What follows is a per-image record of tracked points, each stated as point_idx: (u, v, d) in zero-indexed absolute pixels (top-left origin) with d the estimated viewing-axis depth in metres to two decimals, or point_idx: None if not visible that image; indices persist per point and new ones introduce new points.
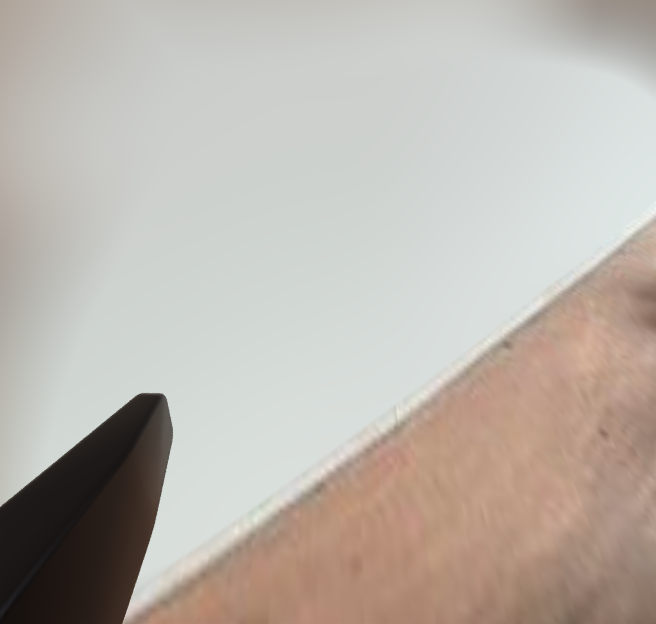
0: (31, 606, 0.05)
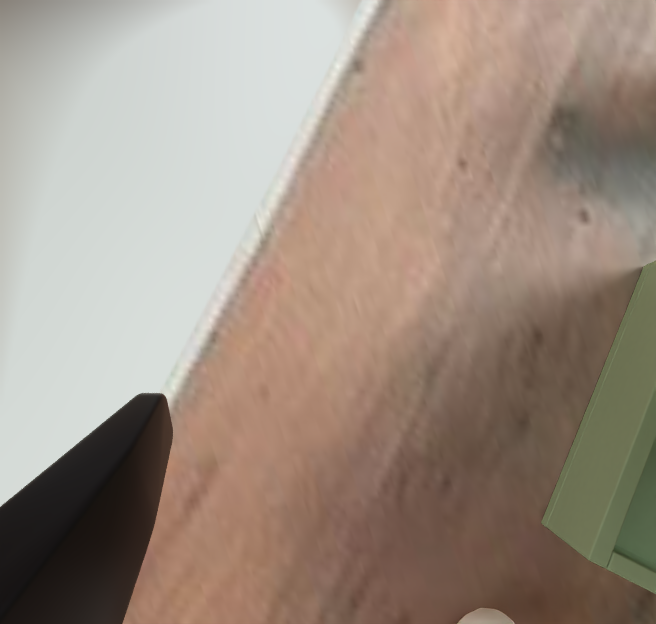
0: (31, 606, 0.05)
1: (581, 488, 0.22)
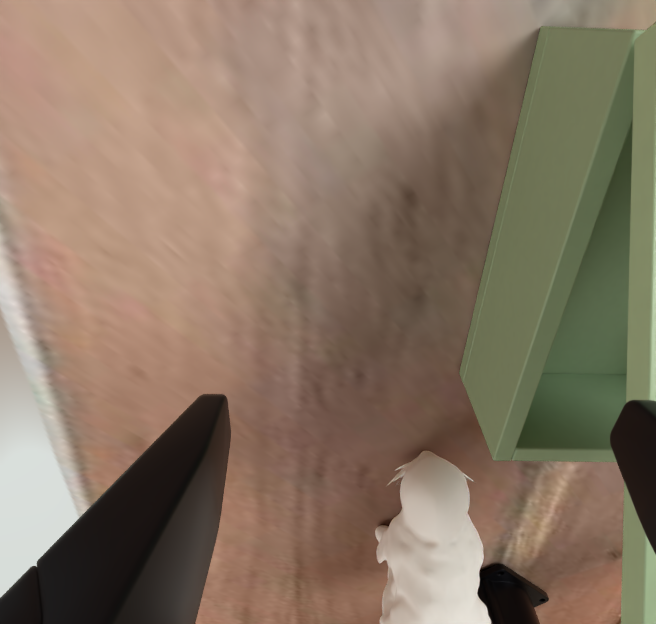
0: (135, 606, 0.05)
1: (485, 370, 0.21)
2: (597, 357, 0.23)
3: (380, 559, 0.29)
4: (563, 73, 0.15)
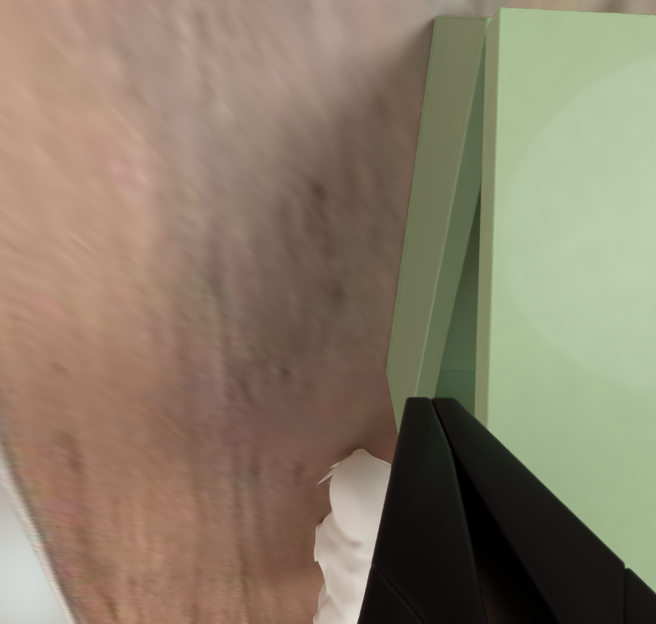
0: None
1: (399, 368, 0.20)
2: None
3: (315, 557, 0.28)
4: (446, 64, 0.14)
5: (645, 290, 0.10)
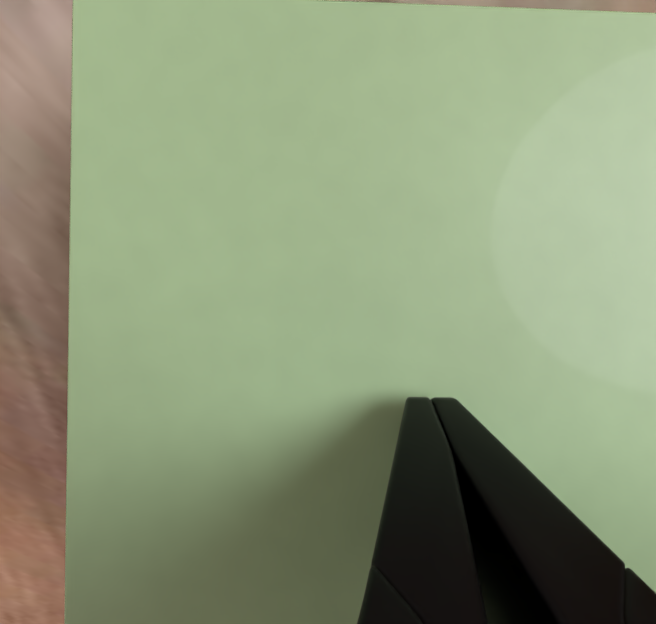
0: None
1: None
2: None
3: None
4: None
5: (268, 345, 0.08)
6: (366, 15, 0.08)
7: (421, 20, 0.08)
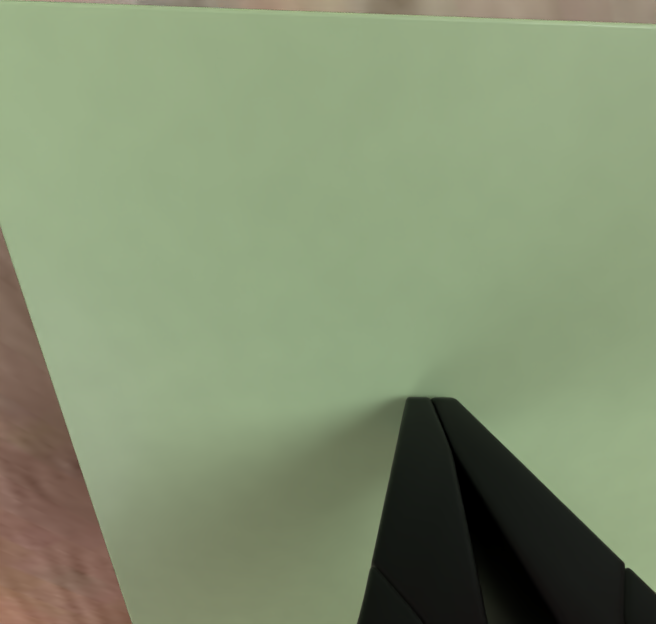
0: None
1: None
2: None
3: None
4: None
5: (265, 423, 0.08)
6: (390, 40, 0.05)
7: (473, 47, 0.05)
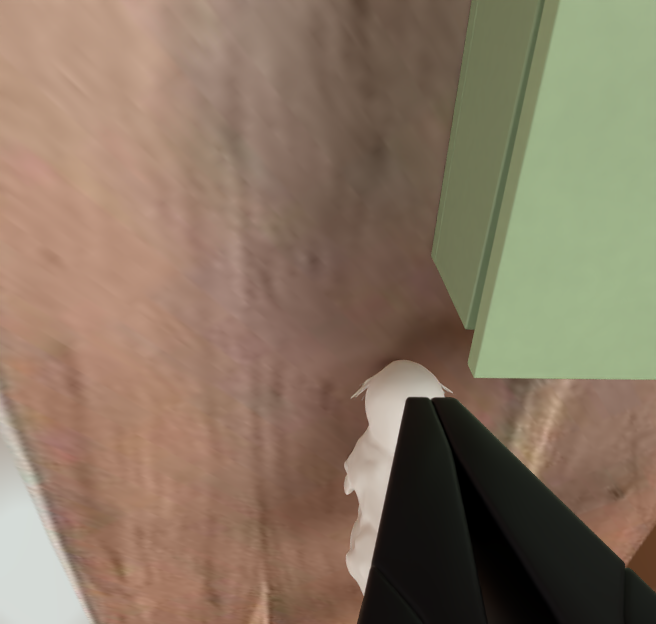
0: None
1: (457, 227, 0.17)
2: None
3: (347, 489, 0.25)
4: None
5: None
6: None
7: None
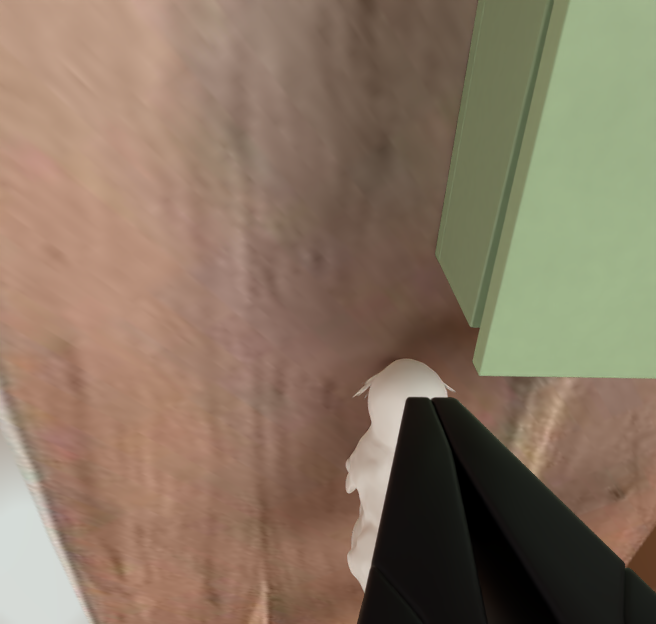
0: None
1: (462, 225, 0.17)
2: None
3: (348, 487, 0.25)
4: None
5: None
6: None
7: None
